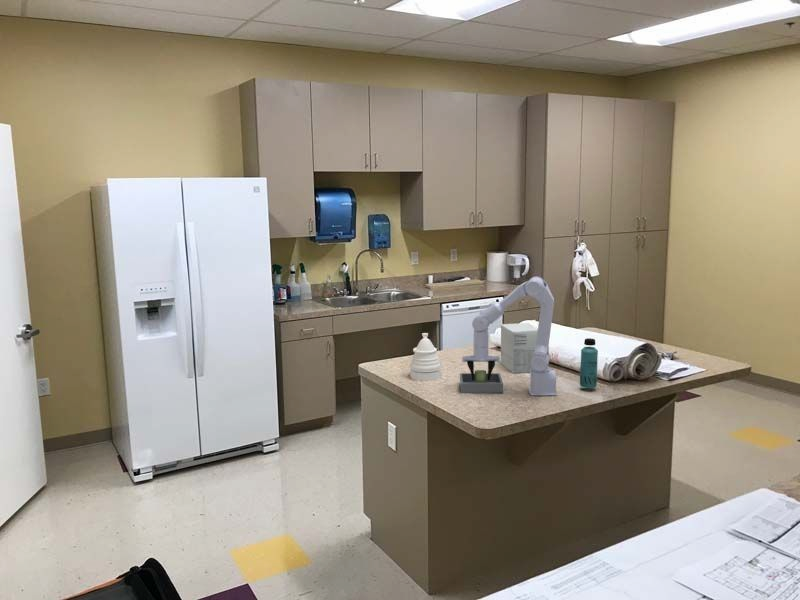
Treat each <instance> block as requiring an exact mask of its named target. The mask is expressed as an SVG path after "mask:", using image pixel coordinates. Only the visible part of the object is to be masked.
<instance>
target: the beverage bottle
mask: <svg viewBox="0 0 800 600" xmlns="http://www.w3.org/2000/svg"><path fill="white" fill-rule="evenodd" d="M594 346H596V339H595V338H592V337H591V338H584V347H583V348H581V350H580V366H579V369H580V370H579V386H580V387H581V388H584V389H594V388H596V387H597V385H598V358H599V357H598V355H599V354H598V353H599V350H598V349H597V348H596V347H594Z"/></svg>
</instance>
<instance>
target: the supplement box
mask: <svg viewBox="0 0 800 600" xmlns="http://www.w3.org/2000/svg"><path fill="white" fill-rule="evenodd" d="M537 333H538V327H536V326H534V325H532V324H530V323H529V322H525V323H501V324H500V364H501V365H503V367H505V368H506V369H507V370H509V372H510V373H512V374H519V373H531V368H532V367H531V364H530V363H531V359H532V358H533V357H534V352H535V347H536V341H537Z"/></svg>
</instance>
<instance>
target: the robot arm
mask: <svg viewBox="0 0 800 600" xmlns="http://www.w3.org/2000/svg"><path fill="white" fill-rule="evenodd" d="M527 296H529V297H531V298H533V299H535V301H536V302H538V303H539V305H540V311H539V317H538V326H537V328H538V333H537V341H536V347H535V352H534V357H533V358H532V359H531V363H530V364H531V367H532V368H531V372H530V382H529V383H530V387H528V389H527V390H528V392H529V394H530V396H557V374H556V370H555V369H551V368H550V367H549V364H550V362H551V361H550V360H551V356H550V353H549V349H550V347H549V346H550V345H549V344H550V337H551V329H552V322H553V314H554V307H555V306H554V305H555V298H554V295H553V294H552V291H551V290H550V287H549V285H548V282H546V281H545V280H544V279H543V278H542V277H541V276H533V277H531V278H529V280H527V281H525V282H523V283H521V284H519V286H517V287H516V288H515V289H513V290H512V291H511V292H510V293H508V295H506V296H505V297H504V298H503V299H501V301H497V302H496V301H494V302H491V303H489V304H488V307H486V309H484V310H483V311H480V312H479V314H478V315H477V316H476V317H474V318H473V320H472V323H471V324H472V325H471V326H472V328H473V355H465V356H464V355H463V356H462V357H461V361H462V363H467V367H468V369H469V372H470V373H471V375H472V380H474V373H475V364H474V363H475V362H476V363H477V362H479V363H481V362H482V363H485V362H486V363H487V373H488V380H490V376H491V373H493V370H494V368H495V365H496V362H497V363H501V355H489V326H490V325H492V324H493V323H494V322H496V321H497V320H498V319H499V318H501V317H502V316H504V315H505V309H506V308H507V307H509V306H510V305H511V304H512V303H514V302H515V301H517V300H518V299H519V298H523V297H524V298H525V297H527Z"/></svg>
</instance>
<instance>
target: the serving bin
mask: <svg viewBox="0 0 800 600" xmlns="http://www.w3.org/2000/svg"><path fill="white" fill-rule="evenodd" d="M459 386H460V394H461V393H472V394H481V395H482V394H489V395H490V394H496V395H497V394H499V395H501V394H504V381H503V379H502V375H501V373H500V372H498V373H497V372H492V373H491V376H490V380H488V372H486V383H475V372H474V380H472V375H471V372H470V373H469V372H466V373H465V372H464V373H463V372H459Z"/></svg>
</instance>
